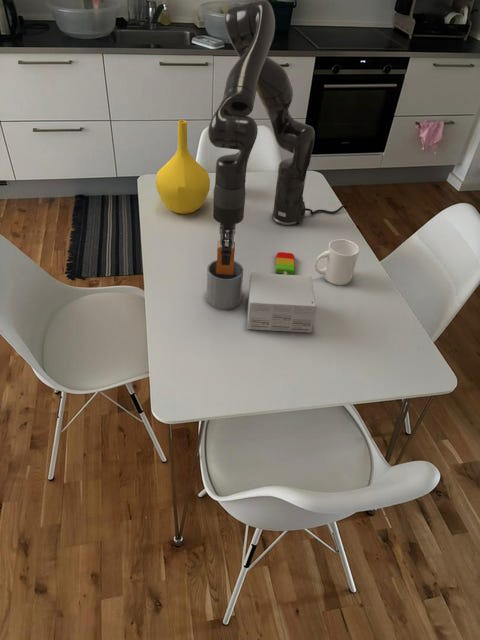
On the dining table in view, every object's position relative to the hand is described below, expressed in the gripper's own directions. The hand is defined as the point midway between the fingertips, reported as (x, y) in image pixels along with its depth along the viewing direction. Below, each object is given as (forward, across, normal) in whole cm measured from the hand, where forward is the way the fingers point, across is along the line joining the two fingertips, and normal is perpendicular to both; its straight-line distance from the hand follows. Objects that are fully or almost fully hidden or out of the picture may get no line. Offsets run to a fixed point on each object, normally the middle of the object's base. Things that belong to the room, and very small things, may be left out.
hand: (225, 259), depth 132 cm
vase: (+13, +50, +16) cm, 54 cm away
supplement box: (+13, -6, -15) cm, 21 cm away
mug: (+13, +13, -32) cm, 37 cm away
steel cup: (+13, 0, 0) cm, 13 cm away
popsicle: (+13, +15, -18) cm, 27 cm away
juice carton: (+3, 0, 0) cm, 3 cm away
